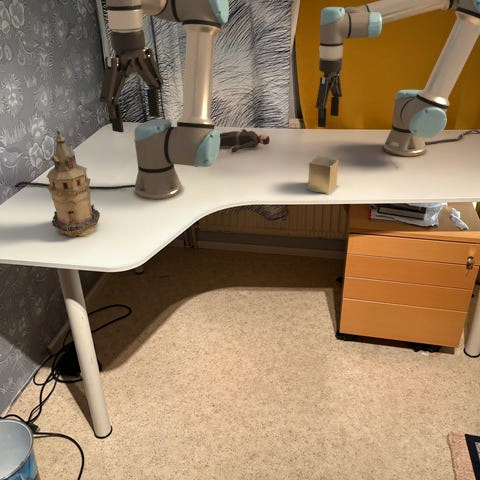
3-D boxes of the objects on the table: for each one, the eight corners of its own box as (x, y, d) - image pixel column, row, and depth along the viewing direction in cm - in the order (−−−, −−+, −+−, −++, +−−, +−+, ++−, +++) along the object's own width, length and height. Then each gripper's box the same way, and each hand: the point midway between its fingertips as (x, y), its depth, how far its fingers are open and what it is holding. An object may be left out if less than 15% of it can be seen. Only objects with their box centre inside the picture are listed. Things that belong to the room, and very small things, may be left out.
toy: (204, 122, 226) (274, 122, 220) (205, 136, 229) (274, 137, 223) (186, 142, 204) (264, 143, 198) (188, 157, 207) (264, 159, 201)
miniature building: (80, 214, 164) (63, 117, 149) (111, 225, 157) (96, 125, 142) (44, 231, 154) (22, 130, 140) (75, 244, 147) (55, 139, 133)
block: (336, 186, 180) (338, 159, 175) (328, 194, 174) (330, 166, 170) (316, 182, 183) (317, 155, 178) (307, 189, 177) (309, 162, 173)
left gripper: (148, 21, 130) (156, 108, 140) (73, 37, 111) (88, 135, 121) (173, 23, 126) (179, 112, 137) (100, 39, 108) (114, 141, 118)
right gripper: (331, 50, 188) (329, 110, 199) (306, 65, 169) (305, 130, 179) (352, 51, 185) (349, 112, 195) (329, 66, 166) (327, 133, 176)
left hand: (137, 123), depth 129 cm, fingers open, 13 cm apart
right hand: (328, 121), depth 187 cm, fingers open, 13 cm apart
